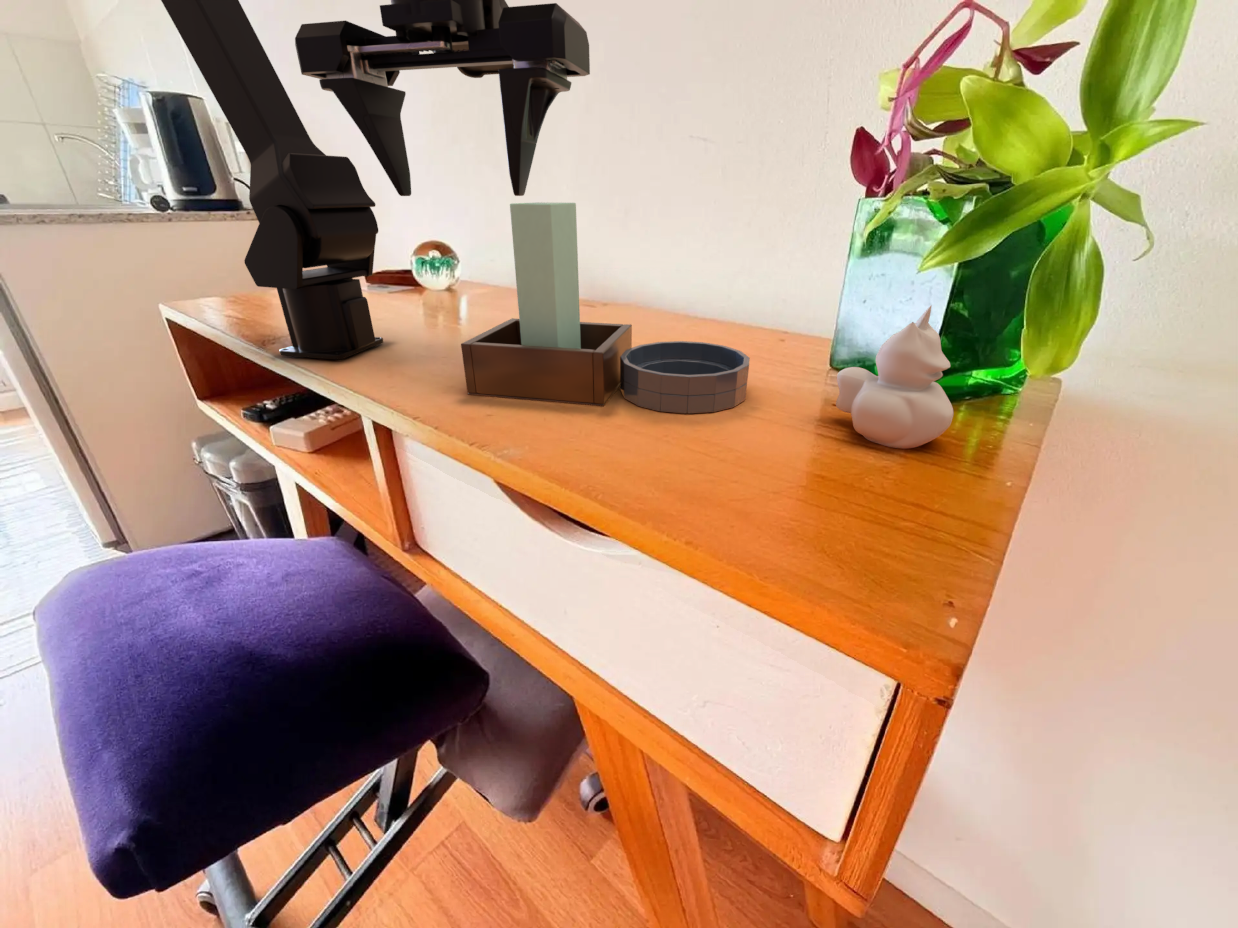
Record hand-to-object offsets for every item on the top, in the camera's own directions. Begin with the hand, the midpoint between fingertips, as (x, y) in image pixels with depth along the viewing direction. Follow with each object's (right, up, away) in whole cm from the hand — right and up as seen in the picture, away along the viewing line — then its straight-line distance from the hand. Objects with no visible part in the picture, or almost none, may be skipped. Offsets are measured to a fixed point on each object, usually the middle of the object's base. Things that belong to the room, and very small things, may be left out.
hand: (461, 196), depth 40 cm
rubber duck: (+27, -18, -8) cm, 34 cm away
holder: (+7, -14, +1) cm, 16 cm away
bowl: (+16, -15, -1) cm, 22 cm away
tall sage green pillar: (+7, -13, +1) cm, 15 cm away
